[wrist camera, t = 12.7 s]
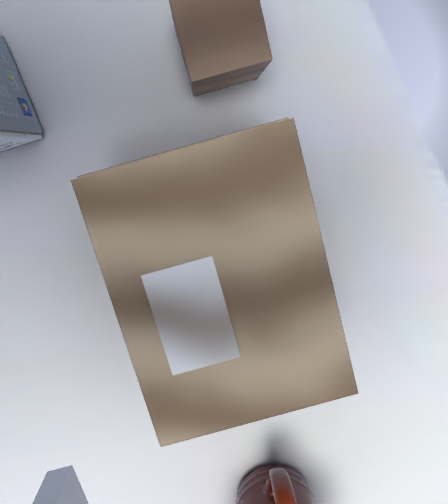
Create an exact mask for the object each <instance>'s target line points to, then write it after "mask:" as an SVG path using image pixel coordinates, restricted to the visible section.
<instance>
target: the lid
mask: <svg viewBox="0 0 448 504" xmlns="http://www.w3.org/2000/svg"><path fill="white" fill-rule="evenodd" d="M71 182H72V185H73V188H74V191H75V194H76V197H77V200H78V203H79V206H80V209H81V212H82V215H83V218H84V221H85V224H86V227H87V230H88V233H89V236H90V239H91V242H92V245H93V248H94V250H95V253H96V256H97V259H98V262H99V265H100V268H101V271H102V274H103V277H104V280H105V283H106V286H107V289H108V292H109V295H110V298H111V301H112V304H113V307H114V310H115V313H116V316H117V319H118V322H119V325H120V328H121V331H122V334H123V337H124V340H125V343H126V346H127V349H128V352H129V355H130V358H131V360H132V363H133V366H134V369H135V372H136V375H137V378H138V381H139V384H140V387H141V390H142V393H143V396H144V399H145V402H146V405H147V408H148V411H149V414H150V417H151V420H152V423H153V426H154V429H155V432H156V435H157V438H158V441H159V444H160V447H163V446H167V445H170V444H174V443H178V442H181V441H185V440H189V439H192V438H196V437H200V436H203V435H207V434H211V433H214V432H218V431H222V430H225V429H229V428H233V427H236V426H240V425H244V424H248V423H251V422H255V421H259V420H262V419H266V418H270V417H273V416H277V415H281V414H284V413H288V412H292V411H295V410H299V409H303V408H306V407H310V406H314V405H317V404H321V403H325V402H328V401H332V400H336V399H339V398H343V397H347V396H351V395H354V394H358V390H357V386H356V381H355V377H354V373H353V369H352V364H351V360H350V356H349V352H348V347H347V343H346V339H345V335H344V330H343V326H342V322H341V318H340V313H339V309H338V305H337V301H336V296H335V292H334V288H333V283H332V279H331V275H330V271H329V266H328V262H327V258H326V254H325V249H324V245H323V241H322V237H321V232H320V228H319V224H318V220H317V215H316V211H315V207H314V203H313V198H312V194H311V190H310V186H309V181H308V177H307V173H306V169H305V164H304V160H303V156H302V152H301V147H300V143H299V139H298V135H297V130H296V126H295V122H294V118H292V119H288V120H285V121H281V122H278V123H274V124H270V125H267V126H263V127H260V128H256V129H253V130H249V131H246V132H242V133H238V134H235V135H231V136H228V137H224V138H221V139H217V140H213V141H210V142H206V143H203V144H199V145H196V146H192V147H189V148H185V149H181V150H178V151H174V152H171V153H167V154H164V155H160V156H157V157H153V158H149V159H146V160H142V161H139V162H135V163H132V164H128V165H124V166H121V167H117V168H114V169H110V170H107V171H103V172H100V173H96V174H92V175H89V176H85V177H82V178H78V179H75V180H71Z"/></svg>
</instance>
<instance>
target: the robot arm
mask: <svg viewBox="0 0 448 504" xmlns="http://www.w3.org/2000/svg"><path fill="white" fill-rule="evenodd" d="M33 504H88V501H87V499H86V497H85V494H84V492H83V490H82V487H81V485H80V483H79V480H78V478H77V476H76V473H75V471H74V469H73V466H68V467H64V468H60V469H56V470H53V471H49V472H47V474H46V476H45V478H44V480H43V482H42V484H41V487H40V489H39V491H38V493H37V495H36V497H35V500H34V502H33Z"/></svg>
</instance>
